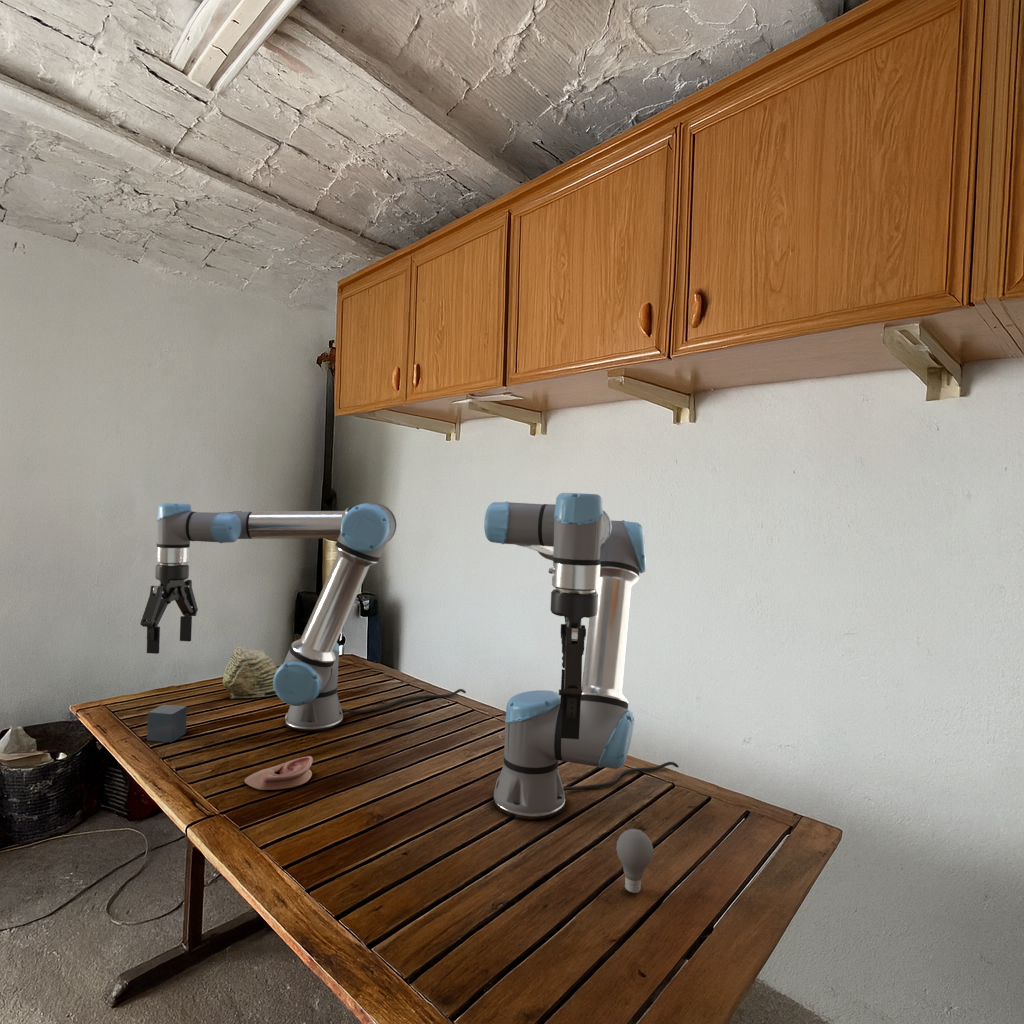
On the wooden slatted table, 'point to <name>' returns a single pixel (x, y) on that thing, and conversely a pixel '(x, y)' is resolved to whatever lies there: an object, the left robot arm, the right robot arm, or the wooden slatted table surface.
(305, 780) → the anatomical model
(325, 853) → the wooden slatted table surface
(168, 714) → the block
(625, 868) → the light bulb
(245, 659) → the fossil
